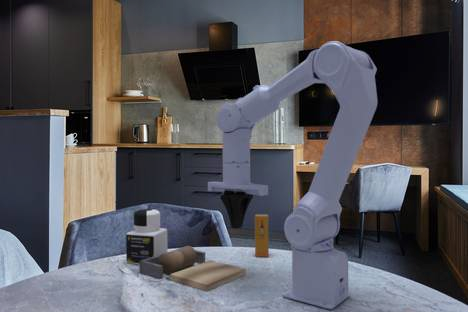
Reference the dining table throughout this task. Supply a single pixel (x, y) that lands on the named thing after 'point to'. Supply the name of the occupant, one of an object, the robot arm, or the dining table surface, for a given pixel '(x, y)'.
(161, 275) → the gray u-shaped frame
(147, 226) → the medicine bottle
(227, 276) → the tan flat square slab
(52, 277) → the dining table surface
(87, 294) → the dining table surface
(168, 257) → the roller
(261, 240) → the supplement box
